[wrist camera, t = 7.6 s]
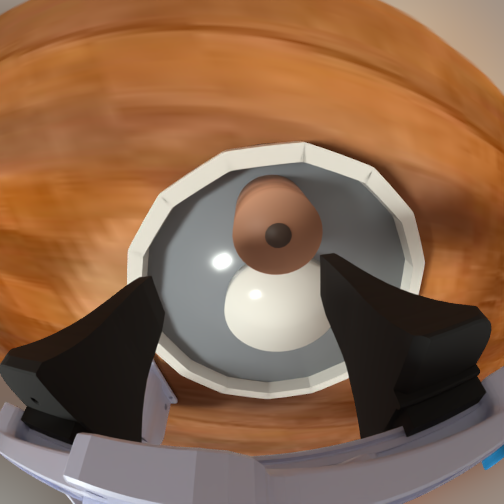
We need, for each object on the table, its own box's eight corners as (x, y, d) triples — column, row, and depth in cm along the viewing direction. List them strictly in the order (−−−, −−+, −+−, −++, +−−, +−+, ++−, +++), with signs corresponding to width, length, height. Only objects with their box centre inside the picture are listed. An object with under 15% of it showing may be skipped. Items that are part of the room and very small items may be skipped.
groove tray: (386, 358, 28) (394, 373, 25) (184, 386, 29) (181, 402, 26) (415, 137, 17) (434, 141, 14) (102, 177, 18) (86, 185, 16)
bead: (307, 236, 19) (323, 269, 15) (241, 245, 20) (240, 280, 15) (302, 170, 17) (320, 186, 13) (230, 179, 17) (225, 198, 13)
